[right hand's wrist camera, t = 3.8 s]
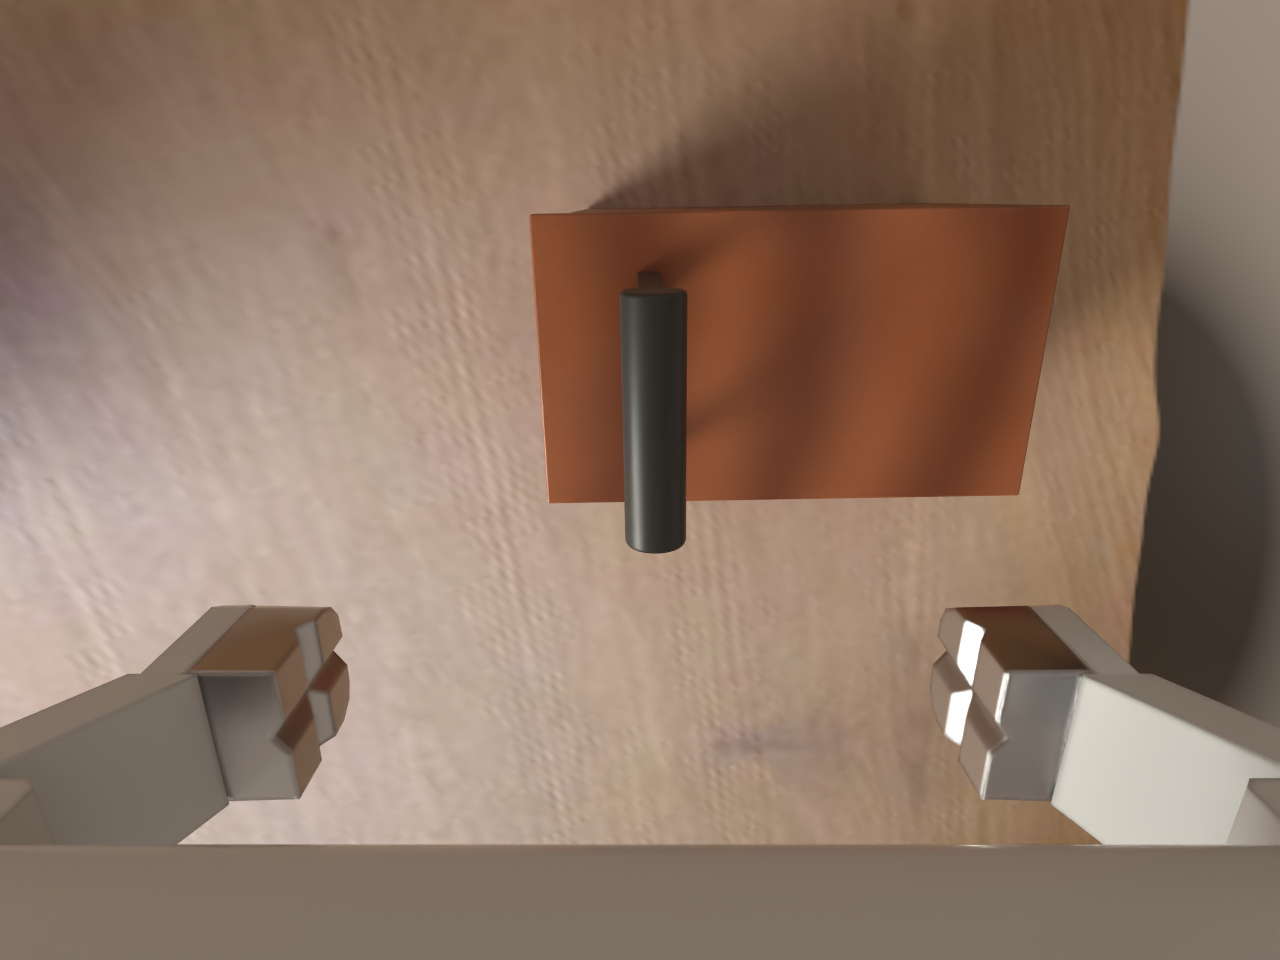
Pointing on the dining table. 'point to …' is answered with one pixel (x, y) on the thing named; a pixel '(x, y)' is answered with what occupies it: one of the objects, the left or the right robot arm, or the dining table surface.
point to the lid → (788, 354)
